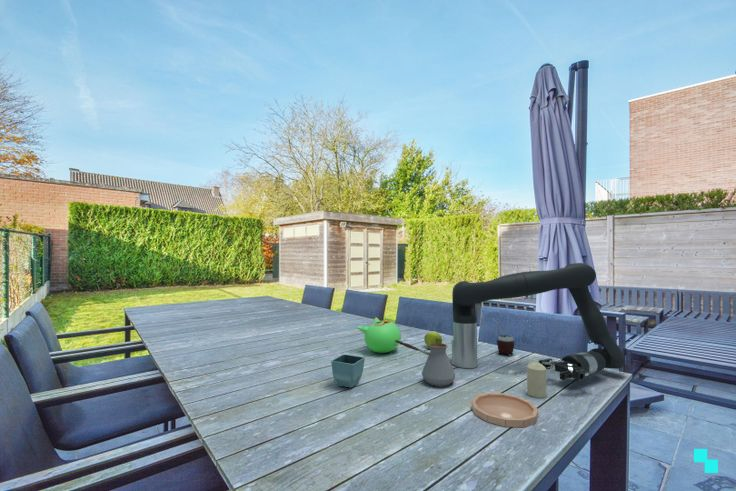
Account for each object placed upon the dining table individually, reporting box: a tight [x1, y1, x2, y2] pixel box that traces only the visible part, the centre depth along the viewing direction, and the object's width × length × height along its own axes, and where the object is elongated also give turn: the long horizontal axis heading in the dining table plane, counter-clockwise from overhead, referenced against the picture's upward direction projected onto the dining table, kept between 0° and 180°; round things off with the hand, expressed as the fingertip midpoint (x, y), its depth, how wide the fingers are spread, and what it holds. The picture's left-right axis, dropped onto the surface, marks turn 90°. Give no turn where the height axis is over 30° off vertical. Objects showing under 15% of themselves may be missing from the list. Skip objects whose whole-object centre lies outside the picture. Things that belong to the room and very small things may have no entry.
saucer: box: [470, 392, 539, 428], centre depth 97 cm, size 17×17×2 cm
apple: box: [423, 330, 443, 348], centre depth 161 cm, size 8×9×8 cm
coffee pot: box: [394, 340, 456, 387], centre depth 119 cm, size 21×12×15 cm, turn 92°
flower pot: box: [330, 353, 365, 388], centre depth 118 cm, size 9×9×9 cm
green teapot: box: [356, 317, 402, 354], centre depth 157 cm, size 18×17×15 cm
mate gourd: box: [492, 318, 515, 358], centre depth 151 cm, size 8×8×15 cm
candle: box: [526, 361, 547, 399], centre depth 109 cm, size 6×6×10 cm
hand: (548, 372), depth 111 cm, fingers open, 8 cm apart
